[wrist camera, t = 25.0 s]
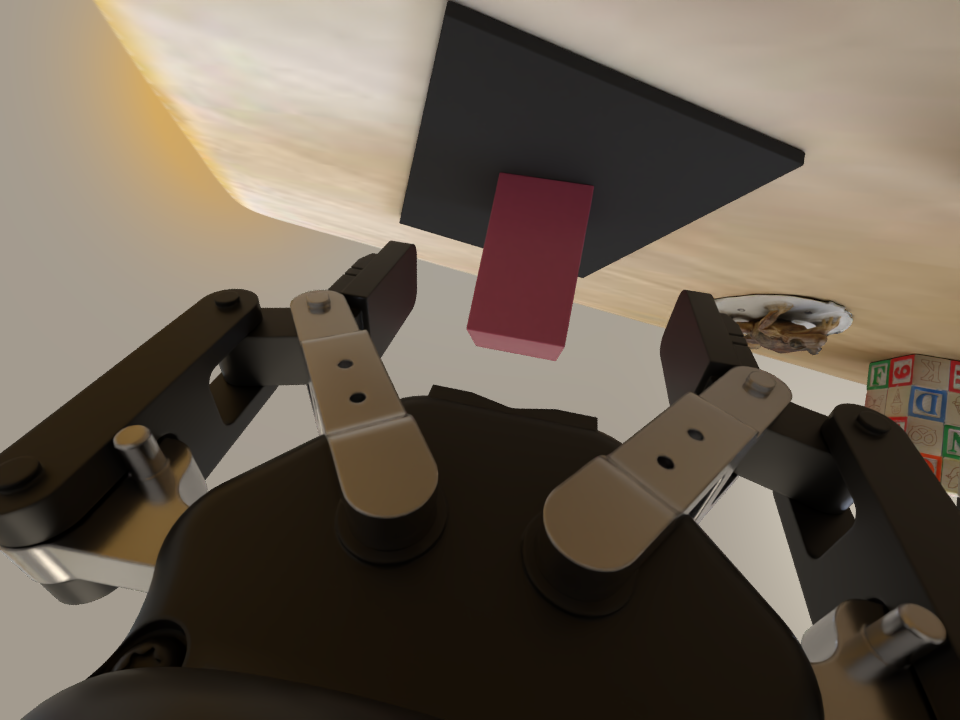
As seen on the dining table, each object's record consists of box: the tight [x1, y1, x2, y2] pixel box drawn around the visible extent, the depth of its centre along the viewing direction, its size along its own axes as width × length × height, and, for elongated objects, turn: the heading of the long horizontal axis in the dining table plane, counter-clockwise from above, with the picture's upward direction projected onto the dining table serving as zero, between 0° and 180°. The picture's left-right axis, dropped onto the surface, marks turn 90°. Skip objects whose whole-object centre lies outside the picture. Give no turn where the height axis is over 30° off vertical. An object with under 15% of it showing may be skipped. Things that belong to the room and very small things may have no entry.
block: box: [467, 172, 594, 361], centre depth 26 cm, size 5×5×9 cm
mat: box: [399, 1, 805, 278], centre depth 27 cm, size 20×16×1 cm
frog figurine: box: [714, 295, 853, 355], centre depth 39 cm, size 12×12×4 cm
